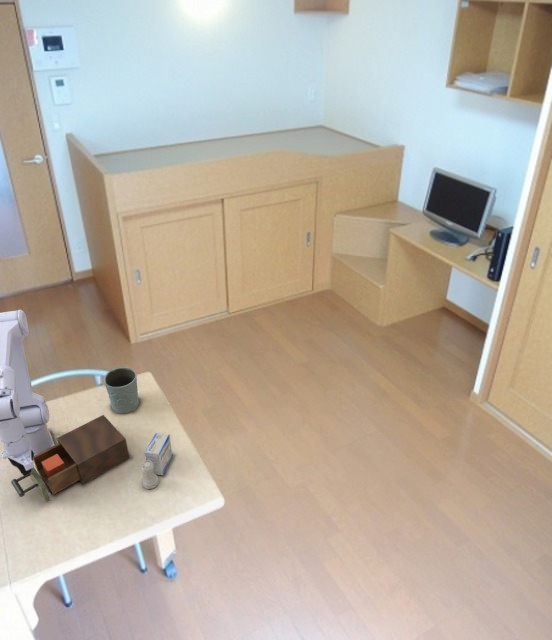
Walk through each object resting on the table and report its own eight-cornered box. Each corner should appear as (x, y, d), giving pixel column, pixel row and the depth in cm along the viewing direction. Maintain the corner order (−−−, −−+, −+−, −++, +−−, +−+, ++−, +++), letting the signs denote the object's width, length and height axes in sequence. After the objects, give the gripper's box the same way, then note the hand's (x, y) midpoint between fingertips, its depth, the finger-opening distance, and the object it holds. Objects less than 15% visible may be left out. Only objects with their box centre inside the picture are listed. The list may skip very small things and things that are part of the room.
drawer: (27, 512, 138) (21, 496, 134) (10, 484, 145) (4, 468, 142) (93, 474, 148) (88, 459, 145) (73, 450, 156) (69, 435, 152)
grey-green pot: (127, 391, 180) (122, 363, 173) (148, 402, 175) (143, 374, 168) (103, 407, 173) (96, 378, 166) (124, 420, 168) (118, 391, 161)
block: (45, 473, 147) (41, 461, 144) (60, 465, 149) (57, 453, 147) (51, 483, 144) (47, 471, 142) (67, 474, 147) (64, 462, 144)
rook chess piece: (161, 479, 148) (158, 459, 143) (153, 491, 144) (150, 471, 140) (147, 475, 149) (144, 455, 145) (139, 487, 145) (135, 467, 141)
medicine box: (162, 476, 149) (159, 454, 144) (148, 473, 149) (143, 452, 145) (173, 455, 155) (169, 434, 151) (158, 453, 156) (155, 431, 151)
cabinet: (83, 484, 146) (77, 464, 142) (62, 457, 154) (56, 438, 150) (129, 458, 154) (125, 438, 150) (107, 433, 163) (103, 414, 158)
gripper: (-14, 427, 135) (1, 464, 142) (7, 459, 126) (21, 497, 133) (14, 414, 139) (27, 451, 146) (36, 444, 130) (49, 482, 137)
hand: (26, 472), depth 140 cm, fingers closed
